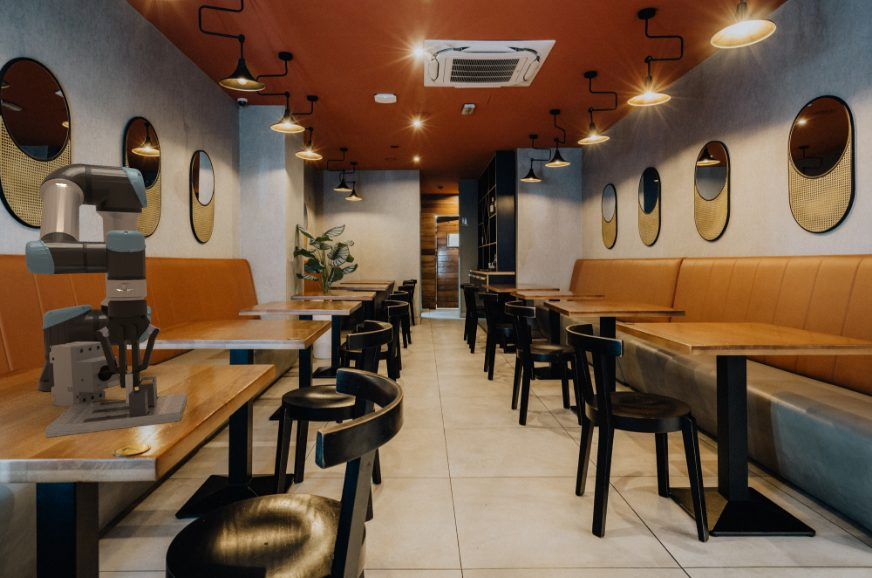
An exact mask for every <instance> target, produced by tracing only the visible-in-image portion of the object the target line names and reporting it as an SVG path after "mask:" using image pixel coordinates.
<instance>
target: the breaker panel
mask: <svg viewBox="0 0 872 578" xmlns="http://www.w3.org/2000/svg"><path fill="white" fill-rule="evenodd" d="M143 380H153V381H155V380H156V400H157V401H156V403H155V405H152V406H148V391H147V389H144V390H138V389H137V390H136V389H135V390H134V391H131V392H130V393H129V403H126V398H124V399H118V400H107V401H96V402H92V403H87V404H78V405H72V406H69V408H67V409H66V410H65V411H64V412H63V413H61V414H60V415H59V416H57V418H55V419H54V420H53V421H52V422H50V424H48V425H47V426H46V427H45V438H54V437H60V436H61V437H62V436H69V435H77V434H78V435H79V434H86V433H94V432H103V431H109V430H110V431H111V430H116V429H117V430H118V429H126V428H135V427H141V426H142V427H144V426H150V425H157V424H159V425H160V424H167V423H174V422H180V421H181V418H182V416H183V413H184V410H185V407H186V404H187V402H188V401H187V400H188V399H187V392H184V393H183V392H182V393H175V394H174V393H173V394H166V395H164V394H163V395H158V388H157V387H158V383H157V376H148V377H146V376H145V377H141V378H140V382H142V381H143Z"/></svg>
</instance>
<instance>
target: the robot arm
mask: <svg viewBox="0 0 872 578" xmlns="http://www.w3.org/2000/svg"><path fill="white" fill-rule="evenodd" d="M39 198H40V200H41V201H42V211H41V212H42V213H41V221H40V229H39V230H40V232H39V239H38V240H29V241H27V242H26V244H25V249H24V250H25V251H24V252H25V254H24V255H25V264H26V269H27V271H28V272H29V273H30V274H34V275H35V274H36V275H50V276H52V275H68V274H69V275H70V274H71V275H72V274H75V275H77V274H104V275H105V278H104V279H105V294H106V295H105V296H106V297H105V298H104V299H103V300H101V301H100V308H93V306H92V305H91V304H83V305H82V304H81V305H76V306H75V305H74V306H68V307H67V306H66V307H62V308H57V309H52V310H48V311H46V312H45V313H44V314H43V316H42V317H43V318H42V327H41V328H42V330H43V345H44V346H43V348H44V350H43V351H44V352H43V353H44V363H43V367H42V369H41V373H40V375H39V379H38V382H37V385H38V390H39V391H41V392H52V391H51V387H54V373H53V363H50V352H51V348H50V346H55V345H60V344H66V343H72V342H100V343H101V346H102V349H103V356H105V358H106V360H107V363H108V366H109V369H110V372H115V373H118V374H119V387H120V389H125V399H126V403H129V393H130V392H131V391H134V390H136V388H138V385H139V384H140V380H141V377H140V376H141V372H143V371H146V370H147V369H148V368H149V366H150V363H151V358H152V356H153V351H154V347H155V343H156V340H157V337H158V335H159V334H160V332H161V330H162V329H161V328H160V327H156V326H155V325H152V324H151V322H152V309H151V308H152V307H151V306H149V305H148V301H147V300H146V297H147V296H148V295H147V294H148V293H147V292H148V291H147V290H148V289H147V287H148V286H147V277H146V276H147V274H146V273H147V271H146V269H147V268H146V267H147V266H146V264H147V261H146V259H147V257H146V255H147V254H146V248H147V244H146V237H145V234H144V233H143V232H141V231H138V223H137V222H138V221H137V220H138V218H139V217H140V216H141V215H142V214H143V209H145V208H147V207H148V197H147V191H146V186H145V182H144V178H143V175H142V173H141V171H140V170H139V169H137V168H130V167H126V166H114V165H100V164H99V165H98V164H88V163H81V162H80V163H71V164H66V165H63V166H60V167H58V168H55V170H53V171H51V172H50V173H48V175H46V176H45V177H44V179H43V180H42V182H41V184H40V186H39ZM81 205H83V206H95V212H96V214H98V215H99V216H100V217H101V218H102V233H103V234H102V236H103V241H84V240H82V241H80V207H81ZM146 341H147V343H146V346H145V351H144V355H143V358H142V363H141V357H140V356H141V355H140V354H141V353H140V347H141V346H140V344H143V343H145V342H146ZM127 345H128V346H130V348H131V350H130V351H131V371H130V372H129V369H128V346H127ZM116 346H117V347H118V350H117V351H118V364H117V361H116V358H115V357H116V356H115V353H114V350H113V347H116ZM52 360H54V357H52Z"/></svg>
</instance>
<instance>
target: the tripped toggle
mask: <svg viewBox="0 0 872 578" xmlns="http://www.w3.org/2000/svg"><path fill="white" fill-rule="evenodd" d="M156 380H157V379H156ZM156 380H155V381H153V380H143V381H142V382H140V384H139V385H138V387H137V388H138V389H137V390H144V389H147V391H148V406H152V405H155V403H156V401H157V400H156Z"/></svg>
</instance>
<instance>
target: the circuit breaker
mask: <svg viewBox="0 0 872 578" xmlns="http://www.w3.org/2000/svg"><path fill="white" fill-rule="evenodd" d="M50 348H51V352H50V363H53V373H54V387H51V391H50V392H51V400H53V403H52V404H51V405H52V406H57V407H71V406H72V405H78V404H87V403H97V402H100V401H102V400H105V399H106V389H110V388H113V387H117V386H120V375H119V374H118V373H115V372H110V369H109V366H108V363H107V360H106V358H105V355H104V352H103V349H102V346H101V343H100V342H72V343H66V344H60V345H55V346H50ZM52 357H54V360H52ZM115 358H116V361H117V364H118V365H119V356H115Z"/></svg>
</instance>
